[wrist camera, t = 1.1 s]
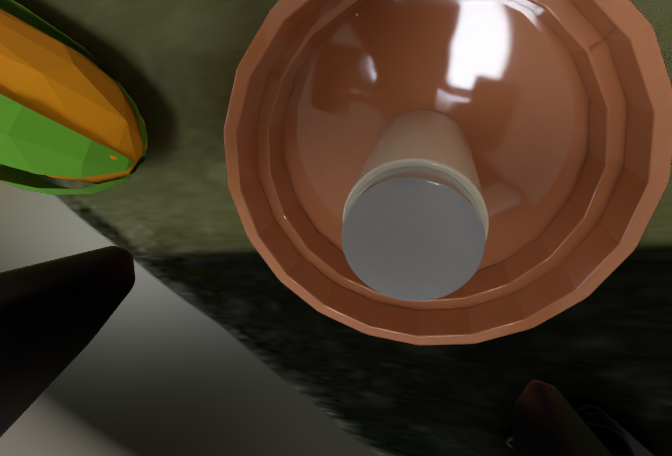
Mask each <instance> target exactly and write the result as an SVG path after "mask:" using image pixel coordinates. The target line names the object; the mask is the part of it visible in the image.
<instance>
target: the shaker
mask: <svg viewBox="0 0 672 456" xmlns="http://www.w3.org/2000/svg"><path fill="white" fill-rule="evenodd" d="M342 224H343V225H342V233H341V240H342V247H343V252H344V255H345V258H346V260H347V262H348V264H349V266H350V267H351V269H352V270H353V272H354V273H355V274H356V275H357V276H358V278H359V279H361V280H362V281H363V282H364V283H365V284H366V285H368V286H369V287H370V288H372V289H374V290H375V291H377V292H379V293H381V294H383V295H385V296H388V297H391V298H395V299H399V300H405V301H428V300H433V299H437V298H441V297H444V296H446V295H448V294H451V293H453V292H454V291H456V290H458V289H459V288H461V287H462V286H463V285H464V284H466V283H467V282H468V281H469V280H470V279H471V278H472V277H473V275H474V274H475V272H476V271H477V270H478V268H479V266H480V264H481V262H482V259H483V256H484V251H485V243H486V240H487V237H488V230H489V217H488V211H487V207H486V203H485V200H484V196H483V193H482V189H481V185H480V182H479V178H478V174H477V171H476V167H475V164H474V160H473V156H472V153H471V149H470V145H469V142H468V139H467V136H466V134H465V132H464V131H463V129H462V128H461V127H460V126H459V124H458V123H457V122H455V121H454V120H453V119H452V118H450V117H448V116H447V115H445V114H442V113H440V112H436V111H431V110H417V111H412V112H408V113H406V114H403V115H401V116H399V117H398V118H396V119H395V120H393V121H392V122H391V123H390V124H389V125H388V126H387V127H386V128H385V129H384V131H383V132H382V134H381V136H380V137H379V139H378V141H377V143H376V145H375V147H374V148H373V150H372V152H371V154H370V156H369V158H368V159H367V161H366V163H365V165H364V167H363V169H362V171H361V172H360V174H359V176H358V178H357V180H356V182H355V184H354V185H353V187H352V189H351V191H350V193H349V195H348V197H347V199H346V202H345V205H344V209H343V217H342Z"/></svg>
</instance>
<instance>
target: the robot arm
mask: <svg viewBox="0 0 672 456" xmlns="http://www.w3.org/2000/svg"><path fill="white" fill-rule="evenodd" d="M134 282H135V272H134V262H133V254H132V253H131V251H129V250H127V249H124V248H121V247H117V246H109V247H105V248H101V249H96V250H92V251H88V252H85V253H80V254H76V255H72V256H68V257H64V258H59V259H55V260H51V261H47V262H43V263H39V264H35V265H31V266H26V267H23V268H18V269H14V270H10V271H6V272H2V273H0V437H1V436H2V435H3V434H4V433H5V432H6V431H7V430H8V429H9V427H10V426H11V425H12V424H13V423H14V422H15V421H16V420H17V419H18V418H19V417H20V416H21V415H22V414H23V413H24V411H26V410H27V409H28V407H29V406H30V405H31V404H32V403H33V402H34V401H35V400H36V399H37V398H38V397H39V396H40V395H41V393H43V391H45V389H46V388H47V387H48V386H49V385H50V384H51V383H52V382H53V381H54V380H55V379H56V378H57V377H58V376H59V375H60V374H61V373H62V372H63V370H64V369H65V368H66V367H67V366H68V365H69V364H70V363H71V362H72V361H73V360H74V359H75V358H76V357H77V356H78V354H80V352H81V351H82V350H83V349H84V348H85V347H86V346H87V345H88V344H89V343H90V341H91V340H92V339H93V338H94V336H95V335H96V334H97V333H98V331H99V330H100V329H101V327H102V326H103V325H104V323H106V321H107V320H108V319H109V317H110V316H111V315H112V314H113V312H114V311H115V310H116V308H117V307H118V306H119V305H120V303H121V302H122V301H123V299H124V298H125V297H126V296H127V294H128V293H129V292H130V290H131V289H132V287H133V285H134ZM505 439H506V444H507V445H508V446H509V447H510V448H512V449H513V456H657V454H656V453H655V452H653V451H652V450H651V449H650V448H649V447H648V446H647V445H645V444H644V443H643V442H642V441H641V440H640V439H639V438H637V437H636V436H635V435H634V434H633V433H632V432H631V431H629V430H628V429H627V428H626V427H625V426H624V425H623V424H621V423H620V422H619V421H618V420H617V419H616V418H615V417H613V416H612V415H611V414H610V413H609V412H608V411H606V410H605V409H604V408H603V407H602V406H601V405H600V404H598V403H597V402H596V401H593V400H586V401H583V402H580V403H578V404H575V405H573V406H571V405H570V403H569V402H568V401H567V400H566V399H565V397H564V396H563V395H562V394H561V393H560V391H559V390H558V389H557V388H556V387H554V386H553V385H550V384H547V383H544V382H541V381H537V380H533V381H531V382H530V383H529V384H528V385H527V387H526V388H525V390H524V391H523V392H522V394H521V395H520V397H519V398H518V400H517V401H516V403H515V405H514V407H513V411H512V431H511V432H509V433H507V434H506V435H505Z"/></svg>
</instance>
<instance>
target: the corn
mask: <svg viewBox="0 0 672 456" xmlns="http://www.w3.org/2000/svg"><path fill="white" fill-rule="evenodd" d="M147 136H148V134H147V132H146V128H145V121H144V120H143V118H142V117H141V115H140V113H139V110H138V107H137V105H136V104H135V102H134V101H133V100H132V98H131V97H130V96H129V95H128V93H127V92H126V91H125V89H124V88H123V87H122V86H121V84H120V83H119V82H118V81H117V79H116V78H115V77H114V76H113V75H112V74H111V73H110V72H109V71H108V70H107V69H106V68H105V67H104V66H103V65H102V64H101V63H100V62H99V61H98V60H97V59H96V58H95V57H94V56H93V55H92V54H91V53H90V52H89V51H88V50H87V49H85V48H84V47H82V46H81V45H80V44H78V43H77V42H75V41H74V40H72V39H71V38H69V37H68V36H66V35H65V34H63V33H62V32H61V31H59V30H58V29H56V28H55V27H53V26H52V25H50V24H49V23H47V22H46V21H44V20H43V19H42V18H40V17H39V16H37V15H36V14H34V13H33V12H31V11H30V10H28V9H27V8H25V7H24V6H23V5H21V4H19V3H17V2H16V1H14V0H0V180H1V181H3V182H5V183H8V184H10V185H13V186H15V187H18V188H20V189H24V190H29V191H35V192H40V193H46V194H51V195H63V194H92V193H98V192H102V191H105V190H108V189H110V188H112V187H114V186H117V185H119V184H121V183H123V182H125V181H127V180H129V179H130V178H131V174H132V173H134V172H135V171H136V170H137V169H138V168H139V166H140V165H141V164H142V163H143V162H144V160H145V158H144V157H143V156H144V155H146V149H147V147H148V145H147ZM30 172H31V173H30ZM32 173H35V174H43V175H47V176H49V177H53V178H60V179H67V180H74V181H81V182H88V183H95V184H99V185H95V186H91V187H87V188H83V189H70V188H66V187H62V186H57V185H54V184H52V183H50V182H48V181H46V180H44V179H42V178H40V177H38V176H36V175H34V174H32ZM114 180H115V181H114ZM108 181H111V182H108ZM104 182H107V183H104ZM101 183H103V184H101Z"/></svg>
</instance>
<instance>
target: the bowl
mask: <svg viewBox="0 0 672 456" xmlns="http://www.w3.org/2000/svg"><path fill="white" fill-rule="evenodd" d="M417 110H431V111H436V112H440V113H442V114H445V115H447V116H448V117H450V118H452V119H453V120H454V121H455V122H457V123H458V124H459V126H460V127H461V128H462V129H463V131H464V132H465V134H466V136H467V139H468V142H469V145H470V149H471V153H472V156H473V160H474V164H475V167H476V171H477V174H478V178H479V182H480V185H481V189H482V193H483V196H484V200H485V203H486V207H487V211H488V217H489V230H488V237H487V240H486V243H485V251H484V256H483V259H482V262H481V264H480V266H479V268H478V270H477V271H476V272H475V274H474V275H473V277H472V278H471V279H470V280H469V281H468V282H467V283H466V284H464V285H463V286H462V287H461V288H459V289H458V290H456V291H454V292H453V293H451V294H448V295H446V296H444V297H441V298H437V299H433V300H428V301H405V300H399V299H395V298H391V297H388V296H385V295H383V294H381V293H379V292H377V291H375V290H374V289H372V288H370V287H369V286H368V285H366V284H365V283H364V282H363V281H362V280H361V279H359V278H358V276H357V275H356V274H355V273H354V272H353V270H352V269H351V267H350V266H349V264H348V262H347V260H346V258H345V255H344V252H343V247H342V240H341V233H342V225H343V224H342V217H343V209H344V205H345V202H346V199H347V197H348V195H349V193H350V191H351V189H352V187H353V185H354V184H355V182H356V180H357V178H358V176H359V174H360V172H361V171H362V169H363V167H364V165H365V163H366V161H367V159H368V158H369V156H370V154H371V152H372V150H373V148H374V147H375V145H376V143H377V141H378V139H379V137H380V136H381V134H382V132H383V131H384V129H385V128H386V127H387V126H388V125H389V124H390V123H391V122H392V121H393V120H395V119H396V118H398V117H399V116H401V115H403V114H406V113H408V112H412V111H417ZM223 134H224V145H225V156H226V166H227V177H228V188H229V191H230V193H231V196H232V198H233V201H234V203H235V206H236V208H237V211H238V214H239V216H240V219H241V221H242V224H243V226H244V229H245V231H246V234H247V236H248V238H249V240H250V242H251V243H252V244H253V246H254V247H255V248H256V250H257V251H258V252H259V254H260V255H261V256H262V258H263V259H264V260H265V262H266V263H267V264H268V266H269V267H270V268H271V270H272V271H273V272H274V274H275V275H276V276H277V278H278V279H279V280H280V281H281V282H282V283H283V284H284V285H286V286H287V287H288V288H289V289H291V290H292V291H293V292H294V293H296V294H297V295H298V296H299V297H301V298H302V299H303V300H304V301H306V302H307V303H308V304H309V305H311V306H312V307H313V308H314V309H316V310H317V311H318V312H320V313H322V314H324V315H326V316H328V317H330V318H332V319H335V320H337V321H339V322H341V323H343V324H345V325H347V326H350V327H352V328H354V329H356V330H358V331H360V332H362V333H365V334H368V335H372V336H377V337H381V338H386V339H391V340H396V341H401V342H405V343H410V344H415V345H418V344H419V345H448V344H474V343H479V342H483V341H487V340H491V339H494V338H498V337H502V336H506V335H509V334H513V333H517V332H520V331H524V330H528V329H531V328H534V327H536V326H537V325H539V324H541V323H543V322H545V321H546V320H548V319H550V318H552V317H553V316H555V315H557V314H559V313H561V312H562V311H564V310H566V309H568V308H569V307H571V306H573V305H575V304H577V303H578V302H580V301H582V300H584V299H585V298H587V297H588V296H589V295H590V294H591V293H592V292H593V291H594V290H595V289H596V288H597V287H598V286H599V285H600V284H601V283H602V282H603V281H604V280H605V279H606V278H607V277H608V276H609V275H610V274H611V273H612V272H613V271H614V270H615V269H616V268H617V267H618V266H619V265H620V264H621V263H622V262H623V261H624V260H625V259H626V258H627V257H628V256H629V255H630V254H631V253H632V252H633V251H634V250H635V248H636V247H637V245H638V243H639V241H640V239H641V237H642V235H643V233H644V231H645V229H646V227H647V225H648V223H649V221H650V219H651V217H652V215H653V213H654V211H655V209H656V207H657V205H658V203H659V201H660V199H661V197H662V195H663V193H664V191H665V189H666V187H667V185H668V182H669V177H670V168H671V159H672V86H671V83H670V80H669V77H668V73H667V70H666V67H665V64H664V60H663V57H662V54H661V51H660V48H659V44H658V41H657V38H656V35H655V32H654V28H653V26H651V23H650V22H649V21H648V20H647V19H646V18H645V17H644V15H643V14H642V13H641V12H640V11H639V10H638V9H637V8H636V7H635V5H634V4H633V3H632V2H631V1H630V0H279V1H278V2H277V3H276V4H275V5H274V7H272V8H271V10H270V12H269V13H268V15H267V17H266V19H265V20H264V22H263V24H262V25H261V27H260V29H259V31H258V32H257V34H256V36H255V37H254V39H253V41H252V43H251V44H250V46H249V48H248V49H247V51H246V53H245V55H244V56H243V58H242V60H241V62H240V63H239V65H238V67H237V70H236V74H235V79H234V84H233V88H232V93H231V98H230V102H229V107H228V112H227V116H226V121H225V126H224V132H223Z"/></svg>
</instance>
